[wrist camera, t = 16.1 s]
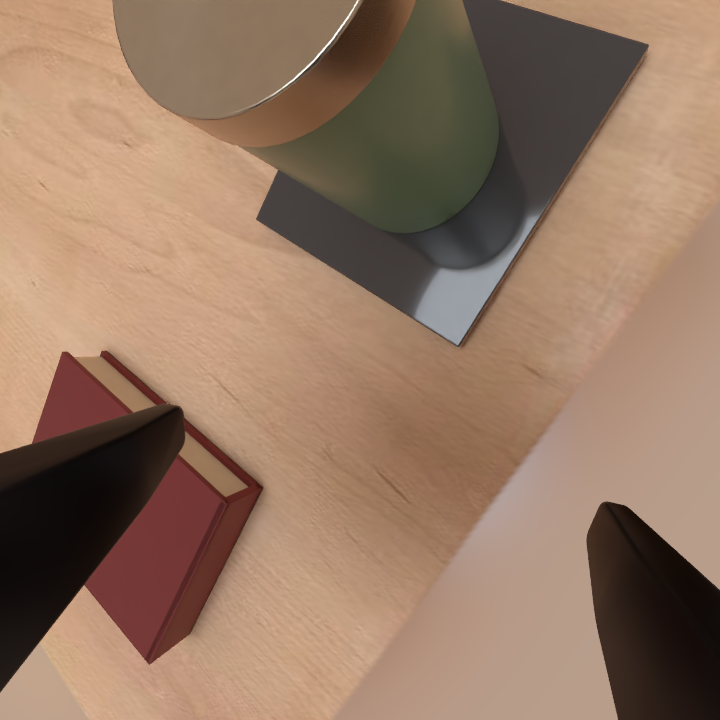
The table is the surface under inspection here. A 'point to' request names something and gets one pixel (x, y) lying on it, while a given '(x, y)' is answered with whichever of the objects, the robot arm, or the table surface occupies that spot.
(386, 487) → the table surface
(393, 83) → the tea tin
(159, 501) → the book
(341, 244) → the coaster
